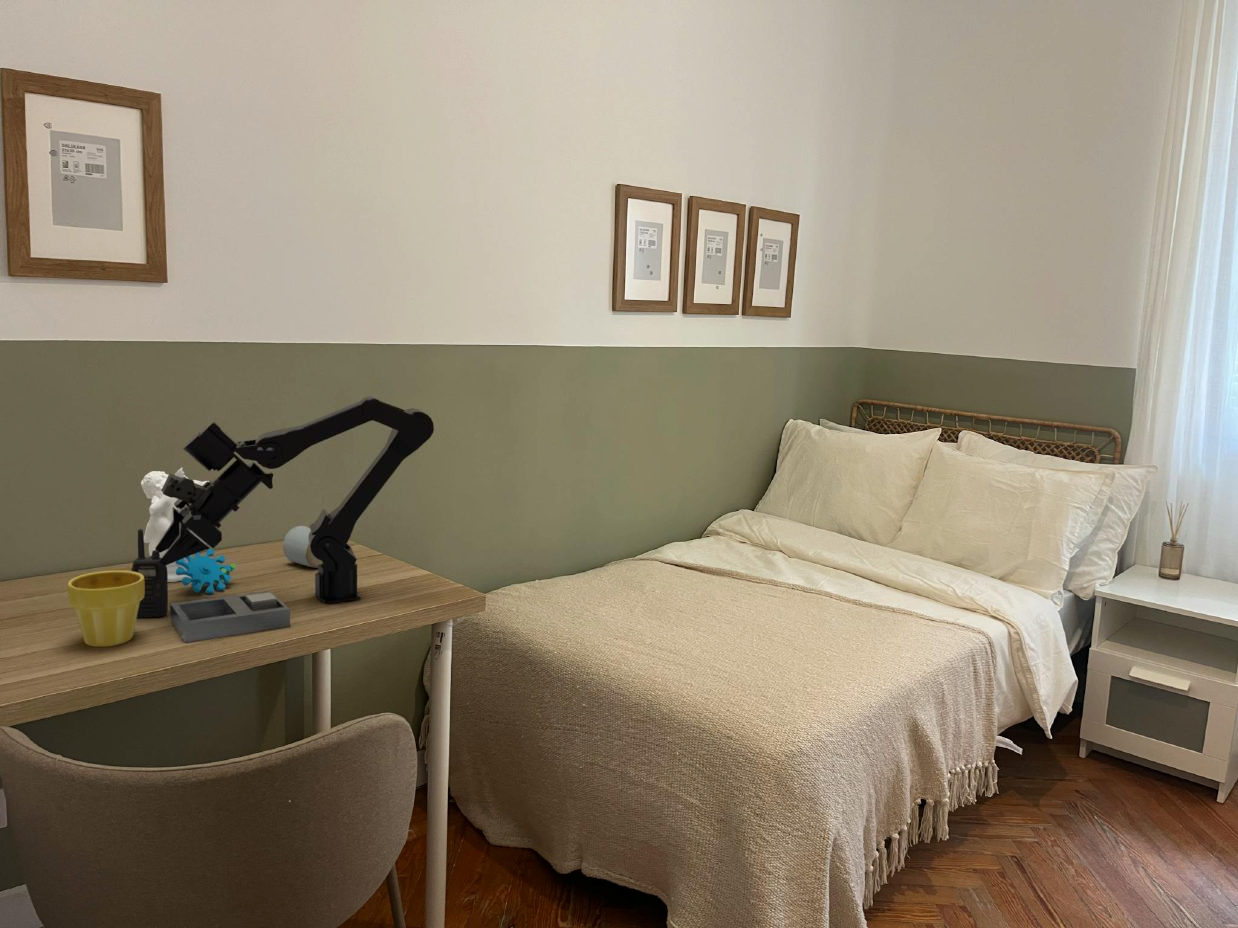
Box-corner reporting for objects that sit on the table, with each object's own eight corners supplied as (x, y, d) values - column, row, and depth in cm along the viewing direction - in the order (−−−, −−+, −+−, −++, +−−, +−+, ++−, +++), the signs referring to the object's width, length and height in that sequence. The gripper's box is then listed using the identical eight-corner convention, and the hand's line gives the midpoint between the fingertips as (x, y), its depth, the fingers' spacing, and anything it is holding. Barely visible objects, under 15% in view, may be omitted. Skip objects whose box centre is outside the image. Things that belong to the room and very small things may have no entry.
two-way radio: (130, 618, 155) (126, 530, 152) (138, 610, 159) (135, 524, 157) (166, 618, 156) (163, 530, 154) (173, 609, 160) (170, 524, 158)
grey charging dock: (270, 606, 164) (269, 590, 163) (290, 626, 154) (289, 608, 154) (170, 620, 155) (170, 603, 154) (185, 642, 145) (184, 623, 144)
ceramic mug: (307, 572, 186) (307, 534, 185) (281, 564, 191) (281, 528, 190) (349, 563, 195) (350, 527, 194) (324, 556, 200) (324, 521, 199)
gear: (184, 591, 165) (172, 544, 170) (172, 609, 168) (160, 562, 173) (244, 588, 174) (231, 543, 178) (231, 605, 177) (218, 561, 181)
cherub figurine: (137, 575, 180) (131, 462, 177) (200, 564, 189) (196, 457, 186) (165, 587, 172) (160, 470, 169) (229, 575, 182) (226, 463, 179)
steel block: (270, 614, 160) (270, 592, 159) (277, 621, 157) (276, 598, 156) (246, 618, 158) (245, 595, 157) (252, 625, 154) (251, 601, 154)
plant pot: (135, 650, 141) (133, 587, 139) (60, 652, 139) (56, 589, 137) (154, 627, 151) (152, 569, 149) (84, 629, 149) (81, 570, 147)
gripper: (186, 450, 165) (117, 514, 161) (198, 466, 149) (122, 538, 145) (234, 492, 170) (169, 555, 166) (251, 512, 154) (179, 583, 150)
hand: (159, 557), depth 157 cm, fingers open, 9 cm apart
